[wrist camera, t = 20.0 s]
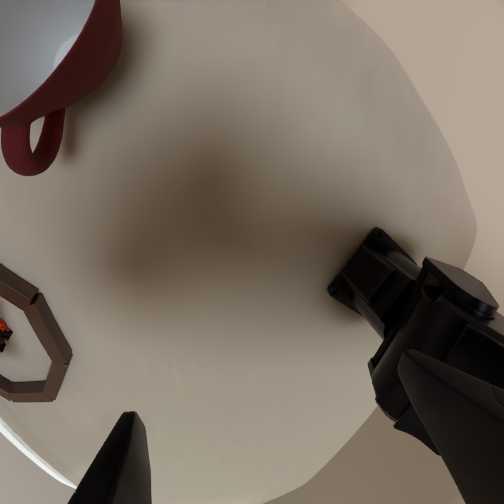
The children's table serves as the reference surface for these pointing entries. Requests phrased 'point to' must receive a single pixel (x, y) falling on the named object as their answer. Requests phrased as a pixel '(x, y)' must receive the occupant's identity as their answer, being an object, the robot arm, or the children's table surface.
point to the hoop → (46, 331)
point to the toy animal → (4, 334)
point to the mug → (50, 69)
